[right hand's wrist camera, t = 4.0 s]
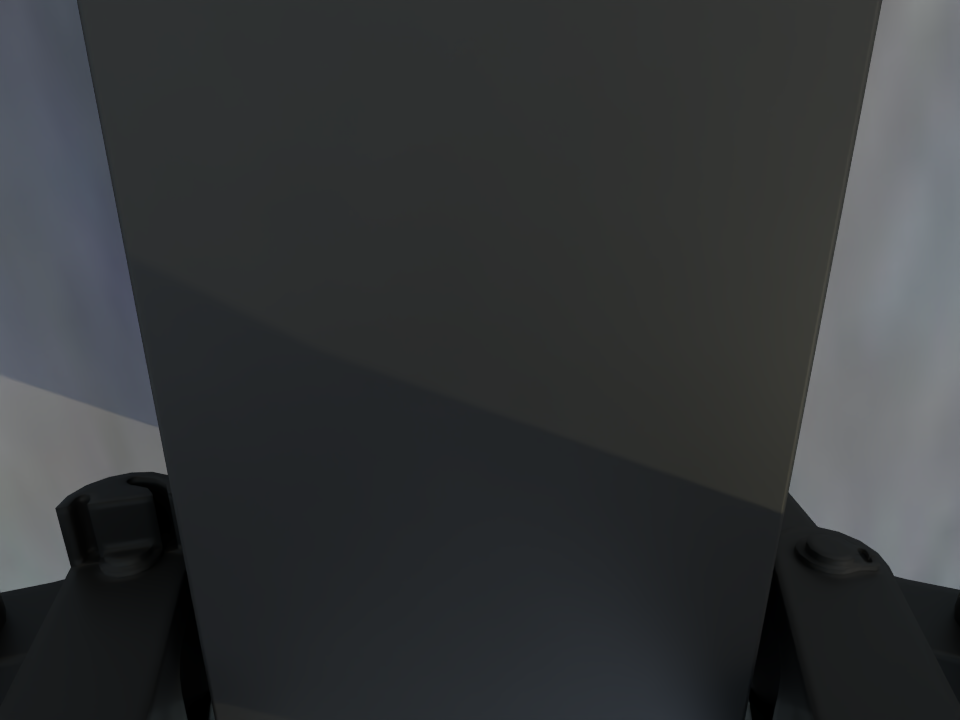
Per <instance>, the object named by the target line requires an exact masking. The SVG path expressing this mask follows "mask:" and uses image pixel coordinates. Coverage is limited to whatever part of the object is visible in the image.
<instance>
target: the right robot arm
mask: <svg viewBox="0 0 960 720" xmlns="http://www.w3.org/2000/svg"><path fill="white" fill-rule="evenodd" d="M55 509H56V512H57V516H58V520H59V524H60V527H61V531H62V535H63V539H64V542H65V546H66V550H67V554H68V557H69V561H70V565H71V569H70V570H69V572H68V574H67V576H66V578H65V579H64V580H60V581H57V582H52V583H47V584H42V585H37V586H32V587H27V588H22V589H17V590H12V591H7V592H2V593H0V720H215V717H214V712H213V707H212V701H211V696H210V691H209V686H208V681H207V675H206V670H205V665H204V660H203V655H202V649H201V644H200V639H199V634H198V628H197V623H196V618H195V613H194V608H193V602H192V597H191V592H190V587H189V582H188V576H187V571H186V566H185V561H184V556H183V550H182V545H181V540H180V535H179V529H178V524H177V519H176V514H175V509H174V503H173V498H172V493H171V488H170V483H169V477H168V475H165V474H160V473H155V472H136V473H127V474H122V475H117V476H112V477H108V478H105V479H102V480H100V481H97V482H94V483H91V484H89V485H86V486H84V487H83V488H81V489H79V490H77V491H76V492H74V493H72V494H70V495H69V496H67V497H66V498H65V499H64V500H63V501H62V502H61V503H60V504H59V505H58V506H57V507H56V508H55ZM745 720H960V590H958V589H953V588H947V587H942V586H937V585H932V584H927V583H922V582H917V581H912V580H907V579H903V578H899V577H895V576H894V575H893V573H892V571H891V569H890V567H889V566H888V565H887V563H886V562H885V561H884V560H883V559H882V557H881V556H880V555H879V554H878V553H877V552H876V551H874V550H873V549H871V548H870V547H868V546H867V545H865V544H864V543H862V542H861V541H859V540H857V539H854V538H852V537H850V536H847V535H845V534H843V533H840V532H837V531H833V530H828V529H824V528H820V527H817V526H816V524H815V523H814V522H813V521H812V520H811V518H810V517H809V516H808V515H807V514H806V513H805V511H804V510H803V509H802V508H801V507H800V505H799V504H798V503H797V502H796V501H795V500H794V498H793V497H792V496H791V495H790V494H789V492H788V496H787V501H786V507H785V512H784V517H783V522H782V528H781V533H780V538H779V543H778V549H777V554H776V559H775V564H774V570H773V575H772V580H771V585H770V591H769V596H768V601H767V606H766V612H765V617H764V622H763V627H762V632H761V638H760V643H759V648H758V653H757V659H756V664H755V669H754V674H753V680H752V685H751V690H750V695H749V701H748V706H747V711H746V716H745Z"/></svg>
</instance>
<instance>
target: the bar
mask: <svg viewBox="0 0 960 720" xmlns="http://www.w3.org/2000/svg"><path fill="white" fill-rule="evenodd" d="M77 3H78V8H79V14H80V19H81V24H82V29H83V35H84V40H85V45H86V50H87V55H88V61H89V66H90V71H91V76H92V81H93V87H94V92H95V97H96V102H97V107H98V113H99V118H100V123H101V128H102V134H103V139H104V144H105V149H106V154H107V160H108V165H109V170H110V175H111V180H112V186H113V191H114V196H115V201H116V206H117V212H118V217H119V222H120V227H121V232H122V238H123V243H124V248H125V253H126V259H127V264H128V269H129V274H130V279H131V285H132V290H133V295H134V300H135V305H136V311H137V316H138V321H139V326H140V331H141V337H142V342H143V347H144V352H145V358H146V363H147V368H148V373H149V378H150V384H151V389H152V394H153V399H154V404H155V410H156V415H157V420H158V425H159V430H160V436H161V441H162V446H163V451H164V457H165V462H166V467H167V472H168V477H169V483H170V488H171V493H172V498H173V503H174V509H175V514H176V519H177V524H178V529H179V535H180V540H181V545H182V550H183V556H184V561H185V566H186V571H187V576H188V582H189V587H190V592H191V597H192V602H193V608H194V613H195V618H196V623H197V628H198V634H199V639H200V644H201V649H202V655H203V660H204V665H205V670H206V675H207V681H208V686H209V691H210V696H211V701H212V707H213V712H214V717H215V720H745V716H746V711H747V706H748V701H749V695H750V690H751V685H752V680H753V674H754V669H755V664H756V659H757V653H758V648H759V643H760V638H761V632H762V627H763V622H764V617H765V612H766V606H767V601H768V596H769V591H770V585H771V580H772V575H773V570H774V564H775V559H776V554H777V549H778V543H779V538H780V533H781V528H782V522H783V517H784V512H785V507H786V501H787V496H788V491H789V486H790V481H791V475H792V470H793V465H794V460H795V454H796V449H797V444H798V439H799V433H800V428H801V423H802V418H803V412H804V407H805V402H806V397H807V391H808V386H809V381H810V376H811V371H812V365H813V360H814V355H815V350H816V344H817V339H818V334H819V329H820V323H821V318H822V313H823V308H824V302H825V297H826V292H827V287H828V281H829V276H830V271H831V266H832V260H833V255H834V250H835V245H836V240H837V234H838V229H839V224H840V219H841V213H842V208H843V203H844V198H845V192H846V187H847V182H848V177H849V171H850V166H851V161H852V156H853V150H854V145H855V140H856V135H857V130H858V124H859V119H860V114H861V109H862V103H863V98H864V93H865V88H866V82H867V77H868V72H869V67H870V61H871V56H872V51H873V46H874V40H875V35H876V30H877V25H878V19H879V14H880V9H881V4H882V0H77Z"/></svg>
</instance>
